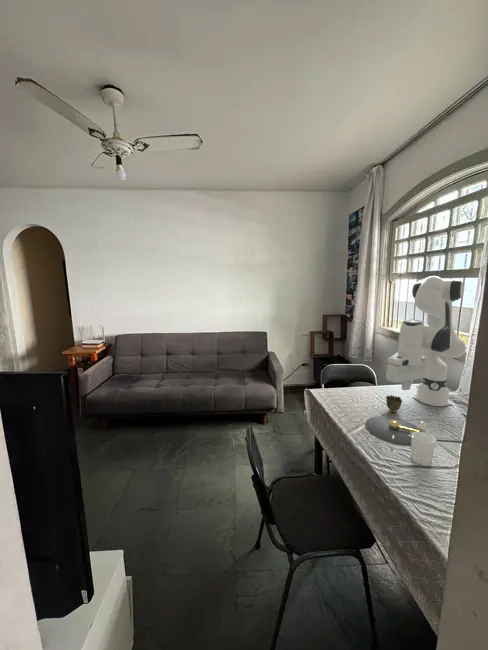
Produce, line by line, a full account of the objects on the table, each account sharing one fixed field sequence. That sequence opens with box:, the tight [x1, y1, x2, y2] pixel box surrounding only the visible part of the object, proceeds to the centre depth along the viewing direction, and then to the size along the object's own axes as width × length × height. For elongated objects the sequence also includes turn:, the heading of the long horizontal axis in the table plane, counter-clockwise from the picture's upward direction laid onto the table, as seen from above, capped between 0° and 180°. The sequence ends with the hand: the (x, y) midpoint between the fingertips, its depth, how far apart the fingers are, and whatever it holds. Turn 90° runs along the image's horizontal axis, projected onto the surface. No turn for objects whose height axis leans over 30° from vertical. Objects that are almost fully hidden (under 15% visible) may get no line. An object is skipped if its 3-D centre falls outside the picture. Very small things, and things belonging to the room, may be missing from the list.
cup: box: [385, 394, 403, 414], centre depth 149 cm, size 8×7×8 cm
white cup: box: [410, 432, 437, 467], centre depth 109 cm, size 8×8×10 cm
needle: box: [389, 419, 427, 433], centre depth 128 cm, size 14×4×6 cm, turn 55°
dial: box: [365, 415, 419, 446], centre depth 132 cm, size 24×24×1 cm
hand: (405, 389), depth 120 cm, fingers closed
